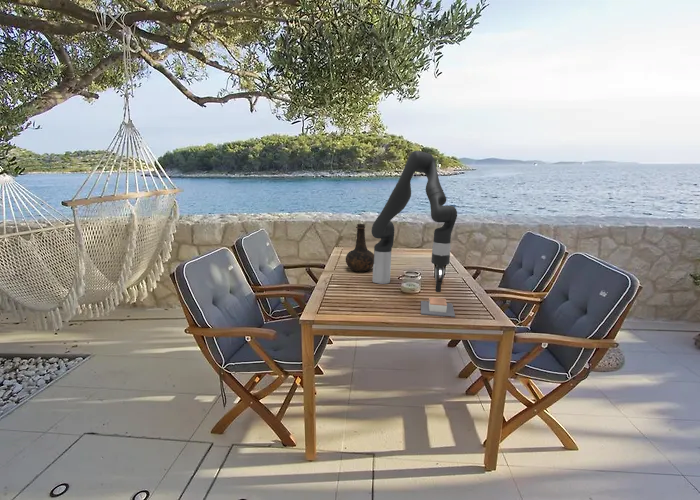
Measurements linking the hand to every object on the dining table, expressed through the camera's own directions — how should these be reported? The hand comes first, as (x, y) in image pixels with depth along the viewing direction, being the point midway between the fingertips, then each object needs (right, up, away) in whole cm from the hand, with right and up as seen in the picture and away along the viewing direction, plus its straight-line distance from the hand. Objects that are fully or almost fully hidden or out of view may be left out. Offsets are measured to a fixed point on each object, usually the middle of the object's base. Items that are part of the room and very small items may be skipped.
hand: (438, 291), depth 169 cm
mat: (0, -8, +2) cm, 8 cm away
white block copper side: (+1, -5, +4) cm, 7 cm away
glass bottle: (-32, +6, +66) cm, 73 cm away
